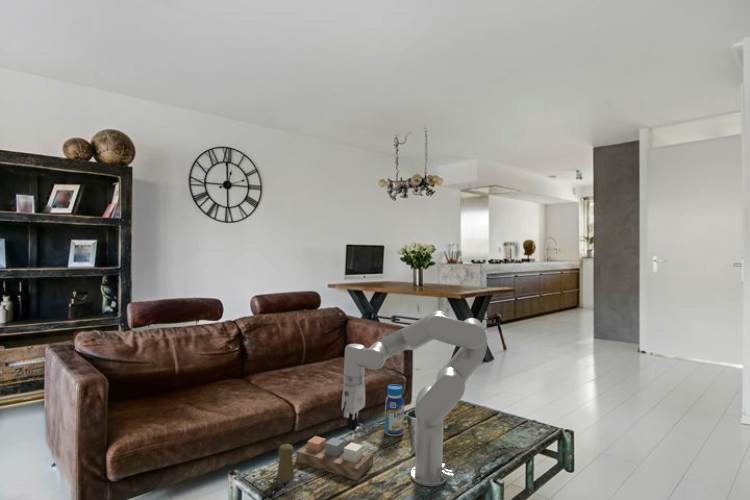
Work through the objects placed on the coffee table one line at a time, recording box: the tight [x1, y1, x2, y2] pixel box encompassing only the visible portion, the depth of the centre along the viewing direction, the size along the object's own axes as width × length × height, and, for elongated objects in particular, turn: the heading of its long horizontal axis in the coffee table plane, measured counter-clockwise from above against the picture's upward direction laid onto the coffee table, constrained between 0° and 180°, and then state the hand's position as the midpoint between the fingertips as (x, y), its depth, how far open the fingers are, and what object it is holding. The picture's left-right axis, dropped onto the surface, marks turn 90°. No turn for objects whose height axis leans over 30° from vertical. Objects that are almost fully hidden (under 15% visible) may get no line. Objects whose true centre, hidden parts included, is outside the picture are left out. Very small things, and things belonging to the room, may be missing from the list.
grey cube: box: [325, 437, 345, 458], centre depth 159 cm, size 5×5×5 cm
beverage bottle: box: [384, 383, 405, 437], centre depth 186 cm, size 8×8×20 cm
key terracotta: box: [307, 435, 327, 453], centre depth 163 cm, size 5×5×5 cm
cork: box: [276, 443, 295, 483], centre depth 150 cm, size 6×6×11 cm
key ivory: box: [344, 442, 364, 464], centre depth 156 cm, size 5×5×5 cm
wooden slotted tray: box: [295, 440, 374, 481], centre depth 160 cm, size 26×12×4 cm, turn 63°
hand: (351, 428), depth 156 cm, fingers closed
